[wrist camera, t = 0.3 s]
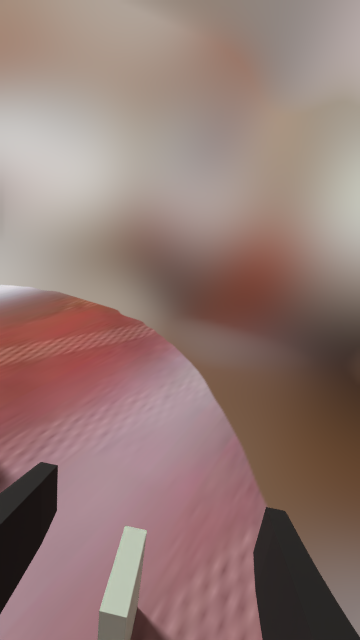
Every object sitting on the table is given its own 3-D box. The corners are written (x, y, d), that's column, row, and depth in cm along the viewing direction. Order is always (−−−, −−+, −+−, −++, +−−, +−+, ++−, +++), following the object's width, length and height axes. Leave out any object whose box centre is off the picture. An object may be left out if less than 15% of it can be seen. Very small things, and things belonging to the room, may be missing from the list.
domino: (137, 606, 25) (146, 530, 22) (118, 698, 20) (126, 617, 17) (118, 602, 25) (125, 525, 22) (94, 692, 20) (99, 610, 17)
